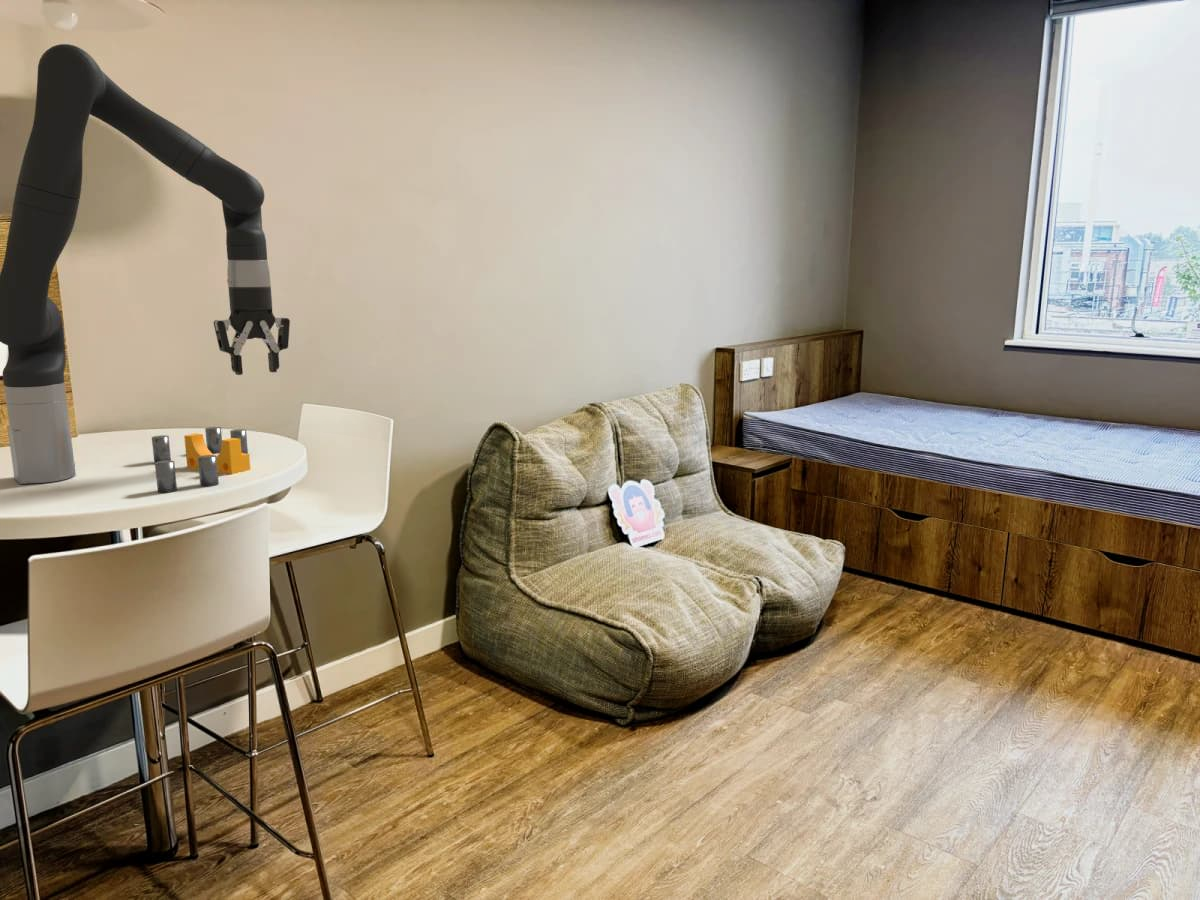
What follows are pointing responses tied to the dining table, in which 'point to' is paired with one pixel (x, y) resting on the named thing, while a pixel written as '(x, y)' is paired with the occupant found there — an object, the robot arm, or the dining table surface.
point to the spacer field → (206, 462)
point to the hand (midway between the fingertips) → (256, 372)
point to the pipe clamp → (227, 459)
